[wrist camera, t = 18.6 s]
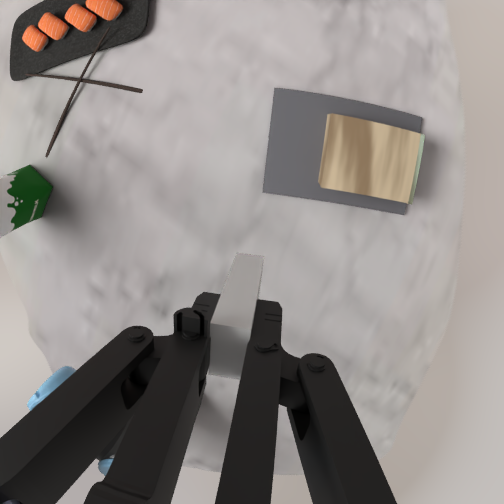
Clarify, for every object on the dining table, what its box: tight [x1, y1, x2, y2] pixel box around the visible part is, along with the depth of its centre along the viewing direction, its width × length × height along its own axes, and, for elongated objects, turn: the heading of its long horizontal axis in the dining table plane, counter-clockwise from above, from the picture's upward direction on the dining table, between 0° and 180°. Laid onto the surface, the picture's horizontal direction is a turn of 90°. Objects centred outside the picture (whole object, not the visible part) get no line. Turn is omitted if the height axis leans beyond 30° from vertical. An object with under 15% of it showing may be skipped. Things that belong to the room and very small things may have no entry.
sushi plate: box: [10, 0, 149, 157], centre depth 36 cm, size 29×30×4 cm
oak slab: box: [318, 113, 425, 204], centre depth 36 cm, size 4×9×12 cm
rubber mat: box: [263, 88, 422, 215], centre depth 39 cm, size 20×14×1 cm
